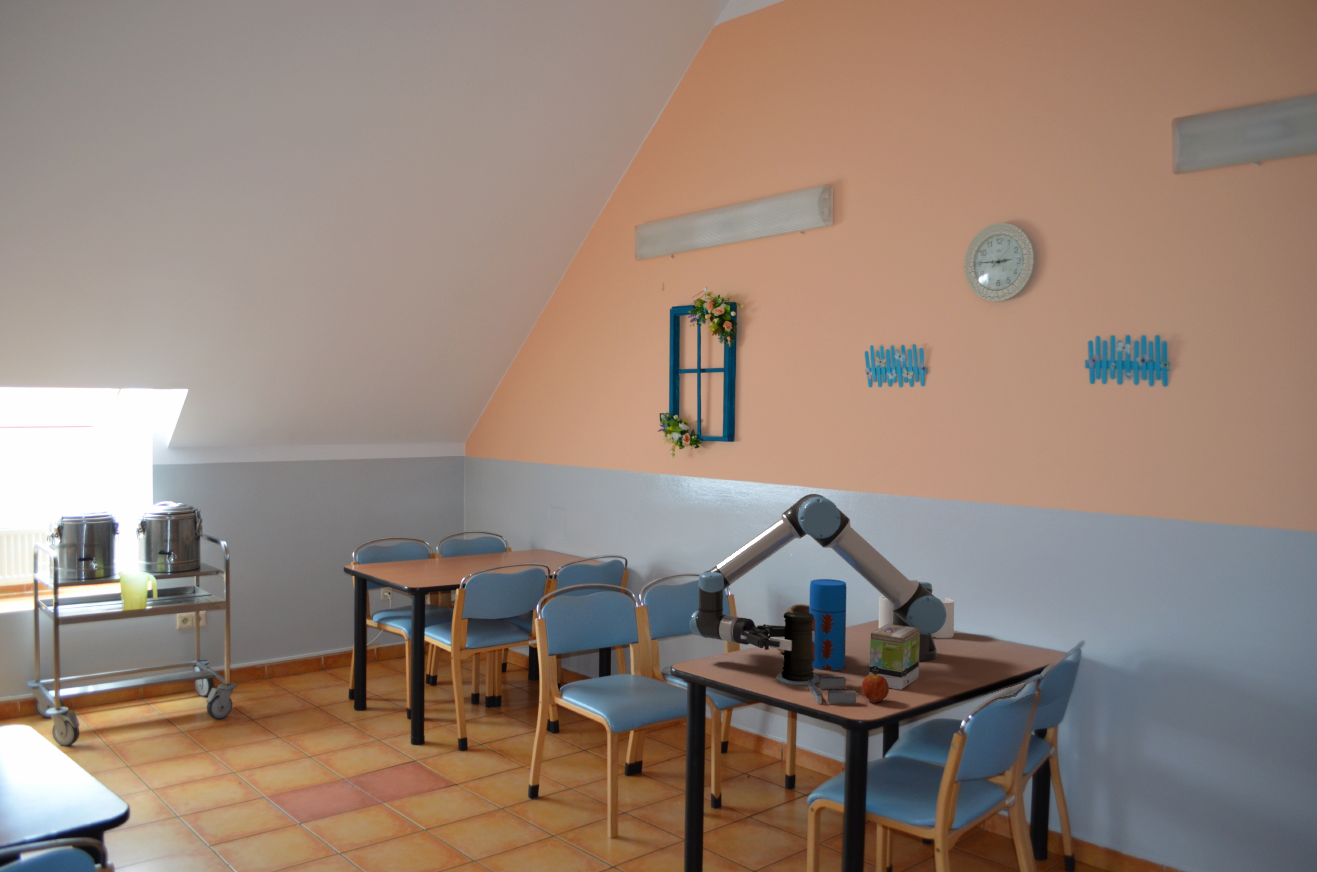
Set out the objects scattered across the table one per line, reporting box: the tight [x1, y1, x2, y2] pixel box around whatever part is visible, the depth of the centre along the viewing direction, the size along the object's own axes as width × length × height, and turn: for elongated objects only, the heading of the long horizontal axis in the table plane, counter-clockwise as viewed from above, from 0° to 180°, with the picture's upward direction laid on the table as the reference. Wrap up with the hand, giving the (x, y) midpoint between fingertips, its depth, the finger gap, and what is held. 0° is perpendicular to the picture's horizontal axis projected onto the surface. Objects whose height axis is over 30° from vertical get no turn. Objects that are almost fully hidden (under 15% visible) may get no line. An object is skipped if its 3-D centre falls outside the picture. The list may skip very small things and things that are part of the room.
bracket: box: [878, 595, 955, 639], centre depth 326 cm, size 25×10×12 cm, turn 82°
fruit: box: [861, 671, 890, 703], centre depth 249 cm, size 7×7×8 cm
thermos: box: [809, 578, 847, 671], centre depth 283 cm, size 11×11×25 cm
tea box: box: [868, 624, 920, 691], centre depth 268 cm, size 15×10×15 cm, turn 148°
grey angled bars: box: [807, 675, 857, 705], centre depth 254 cm, size 10×15×3 cm, turn 1°
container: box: [781, 611, 815, 681], centre depth 268 cm, size 9×9×18 cm
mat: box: [776, 672, 819, 687], centre depth 269 cm, size 12×12×1 cm
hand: (802, 641), depth 267 cm, fingers open, 13 cm apart
